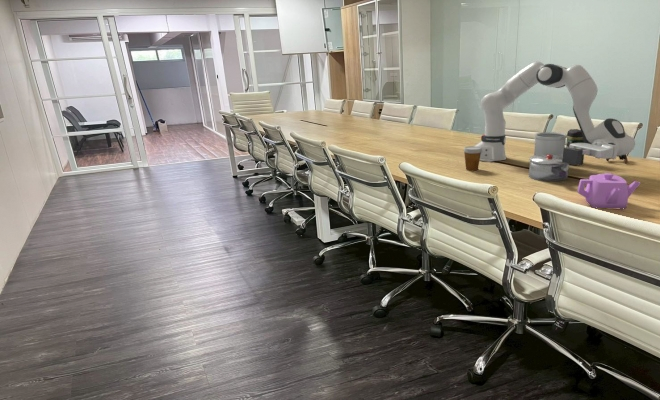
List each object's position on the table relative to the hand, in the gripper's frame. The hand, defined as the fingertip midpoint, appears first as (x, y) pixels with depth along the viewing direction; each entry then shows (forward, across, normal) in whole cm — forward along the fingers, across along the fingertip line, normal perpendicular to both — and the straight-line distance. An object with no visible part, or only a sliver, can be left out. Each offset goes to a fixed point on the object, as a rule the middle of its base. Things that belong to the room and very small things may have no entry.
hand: (575, 152), depth 195 cm
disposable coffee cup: (+27, -42, +14) cm, 52 cm away
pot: (+4, -10, +14) cm, 18 cm away
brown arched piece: (-47, -22, +15) cm, 54 cm away
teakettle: (+11, +30, +14) cm, 35 cm away
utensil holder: (-10, -29, +15) cm, 34 cm away
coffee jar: (-26, -29, +15) cm, 42 cm away
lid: (+3, -9, +6) cm, 11 cm away
